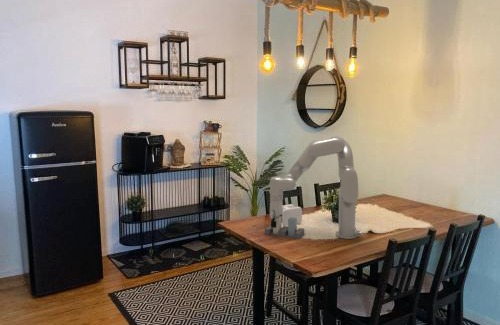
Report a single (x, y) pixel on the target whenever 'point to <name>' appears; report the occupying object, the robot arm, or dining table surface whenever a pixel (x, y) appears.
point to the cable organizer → (291, 214)
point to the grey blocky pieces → (285, 232)
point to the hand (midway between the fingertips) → (276, 224)
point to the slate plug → (292, 226)
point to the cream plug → (277, 224)
